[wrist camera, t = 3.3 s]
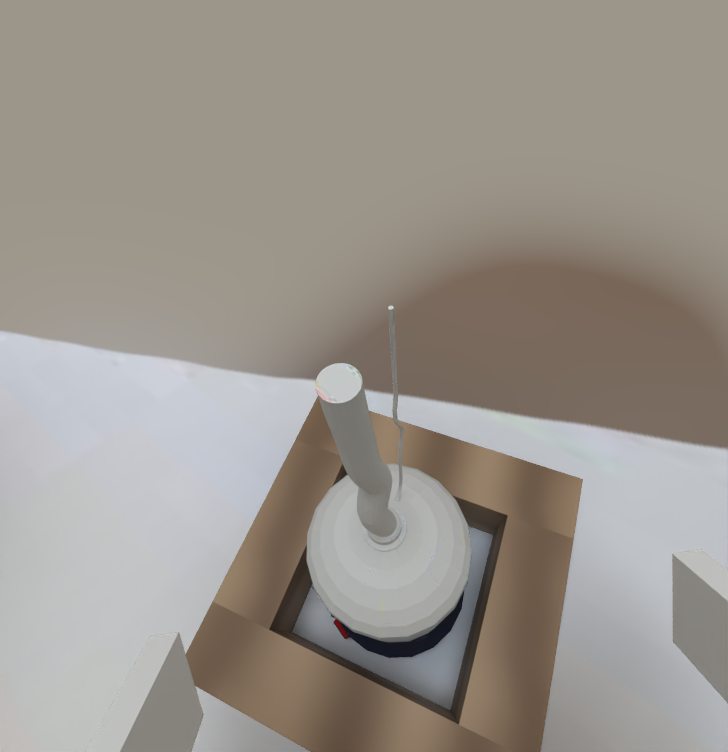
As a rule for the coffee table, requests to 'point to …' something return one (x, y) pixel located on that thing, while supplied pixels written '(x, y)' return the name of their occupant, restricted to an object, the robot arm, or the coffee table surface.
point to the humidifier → (384, 533)
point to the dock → (358, 685)
